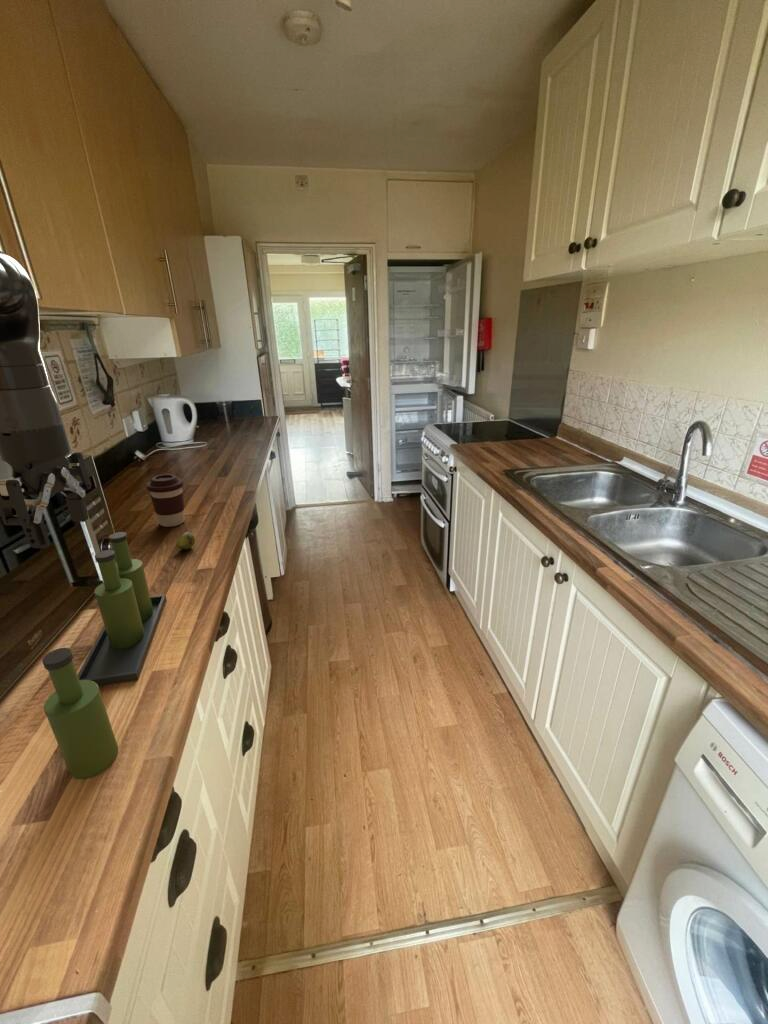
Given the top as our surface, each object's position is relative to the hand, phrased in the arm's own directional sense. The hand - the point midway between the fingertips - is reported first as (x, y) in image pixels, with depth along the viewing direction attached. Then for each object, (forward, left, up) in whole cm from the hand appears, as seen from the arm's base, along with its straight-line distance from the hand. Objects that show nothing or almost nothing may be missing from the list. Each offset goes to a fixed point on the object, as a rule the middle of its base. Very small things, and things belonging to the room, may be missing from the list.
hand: (62, 533), depth 62 cm
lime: (-28, +41, -30) cm, 58 cm away
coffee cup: (-46, +51, -30) cm, 75 cm away
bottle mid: (-8, +9, -29) cm, 31 cm away
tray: (-8, +9, -29) cm, 32 cm away
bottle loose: (+11, -10, -29) cm, 33 cm away
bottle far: (-12, +15, -29) cm, 35 cm away
